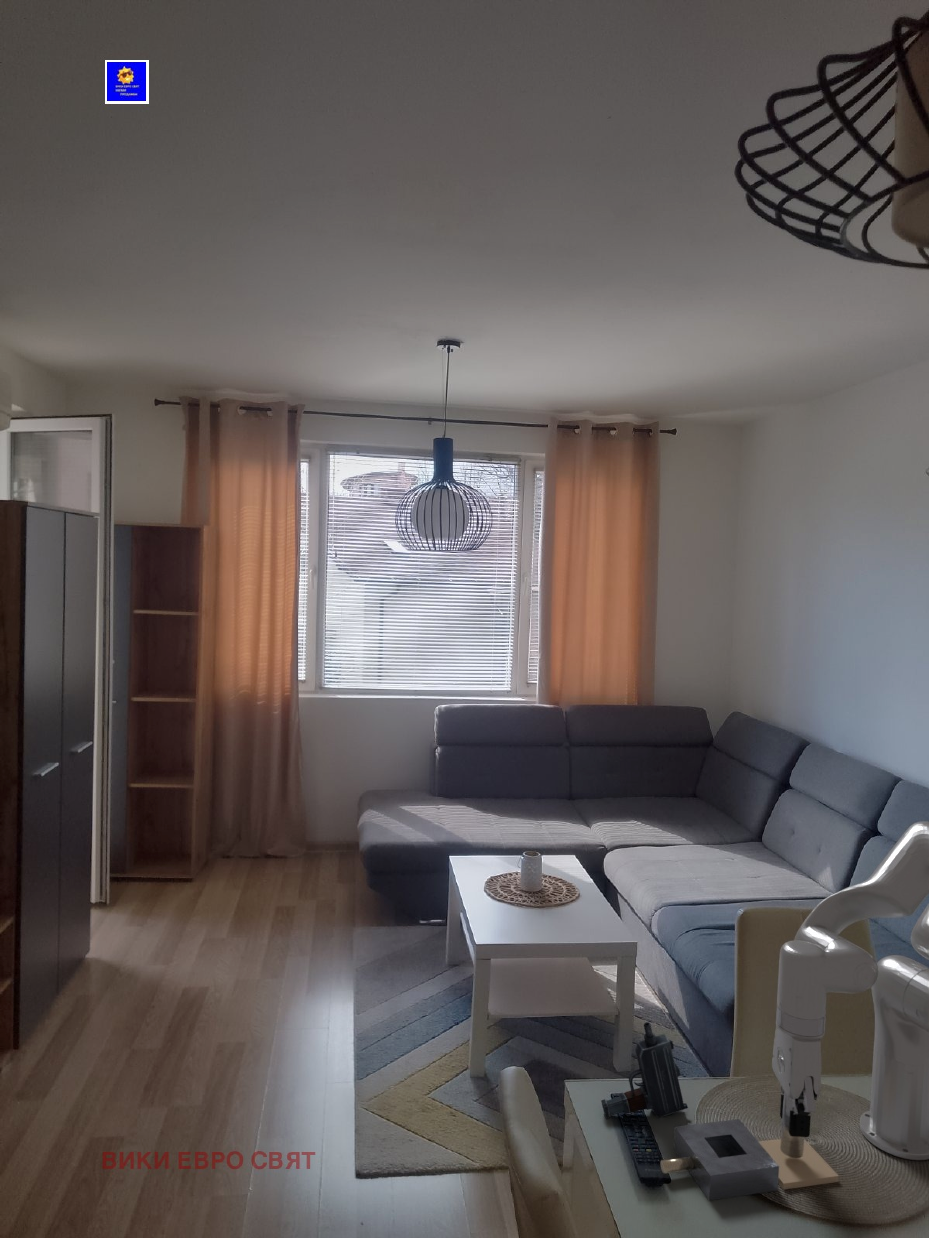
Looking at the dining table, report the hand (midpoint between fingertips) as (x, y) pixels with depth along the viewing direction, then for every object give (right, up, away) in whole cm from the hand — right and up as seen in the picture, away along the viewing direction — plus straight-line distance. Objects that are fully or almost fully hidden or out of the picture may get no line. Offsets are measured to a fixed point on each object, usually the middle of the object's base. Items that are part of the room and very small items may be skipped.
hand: (794, 1125), depth 142 cm
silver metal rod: (0, -4, 0) cm, 4 cm away
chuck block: (-15, -6, -2) cm, 16 cm away
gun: (-22, -6, +13) cm, 26 cm away
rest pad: (0, -7, 0) cm, 7 cm away
